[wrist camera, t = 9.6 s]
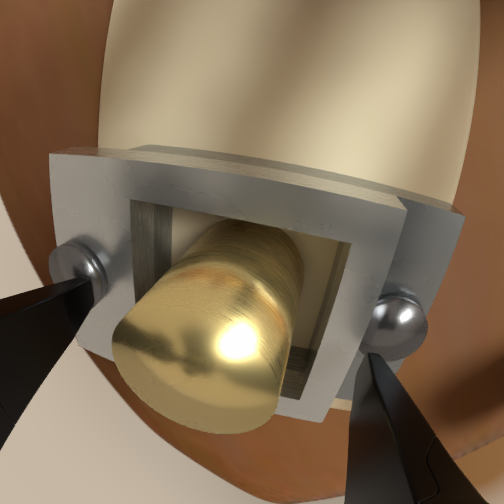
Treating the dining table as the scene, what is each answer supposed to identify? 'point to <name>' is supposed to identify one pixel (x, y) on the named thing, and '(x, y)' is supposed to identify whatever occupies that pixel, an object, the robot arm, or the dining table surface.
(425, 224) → the square frame with knobs
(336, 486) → the dining table surface
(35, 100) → the dining table surface
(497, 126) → the dining table surface
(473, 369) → the dining table surface
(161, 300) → the pin
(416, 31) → the board
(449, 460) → the robot arm
